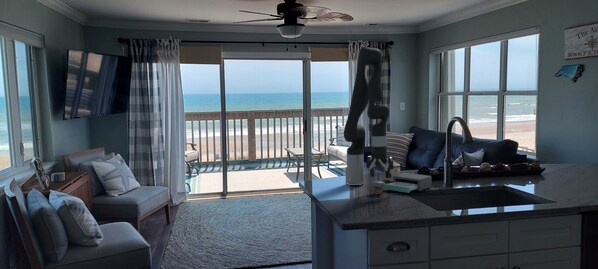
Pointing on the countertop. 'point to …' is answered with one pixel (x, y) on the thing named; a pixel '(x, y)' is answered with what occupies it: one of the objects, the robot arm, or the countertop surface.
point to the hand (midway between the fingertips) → (379, 177)
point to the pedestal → (378, 190)
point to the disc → (378, 184)
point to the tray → (401, 186)
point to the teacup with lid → (394, 171)
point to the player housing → (414, 180)
